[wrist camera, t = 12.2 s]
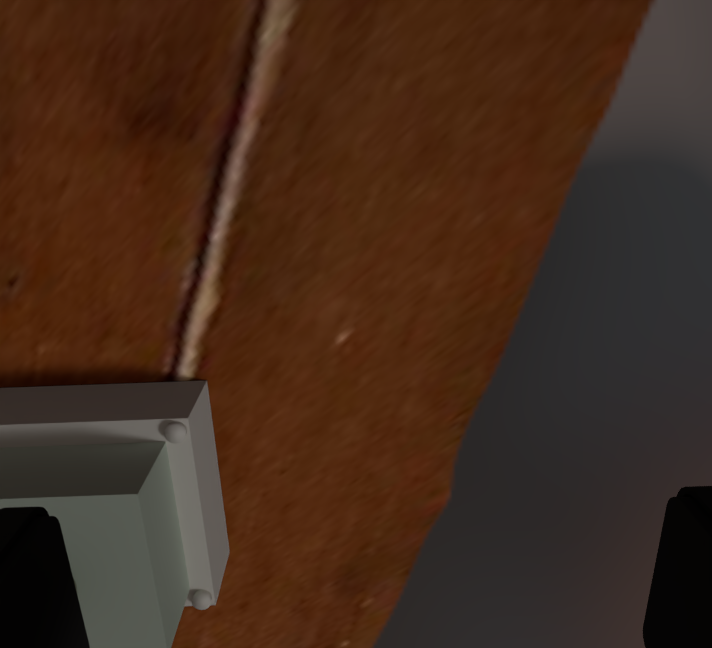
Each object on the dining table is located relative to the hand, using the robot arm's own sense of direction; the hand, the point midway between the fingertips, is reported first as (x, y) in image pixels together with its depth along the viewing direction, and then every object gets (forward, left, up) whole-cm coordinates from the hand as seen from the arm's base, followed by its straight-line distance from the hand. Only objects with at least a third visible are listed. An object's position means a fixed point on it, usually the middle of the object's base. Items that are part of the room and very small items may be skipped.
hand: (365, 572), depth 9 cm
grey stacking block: (+17, -17, -28) cm, 37 cm away
